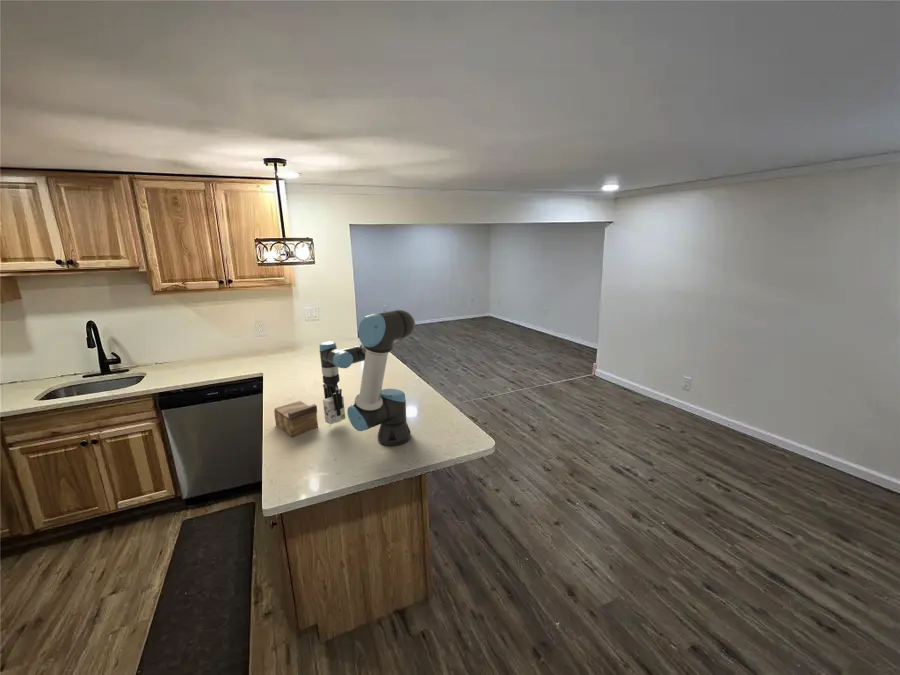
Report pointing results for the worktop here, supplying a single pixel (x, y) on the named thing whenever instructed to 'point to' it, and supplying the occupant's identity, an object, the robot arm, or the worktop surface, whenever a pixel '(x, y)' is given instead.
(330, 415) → the ink box
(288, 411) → the lid
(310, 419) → the crate
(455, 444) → the worktop surface
